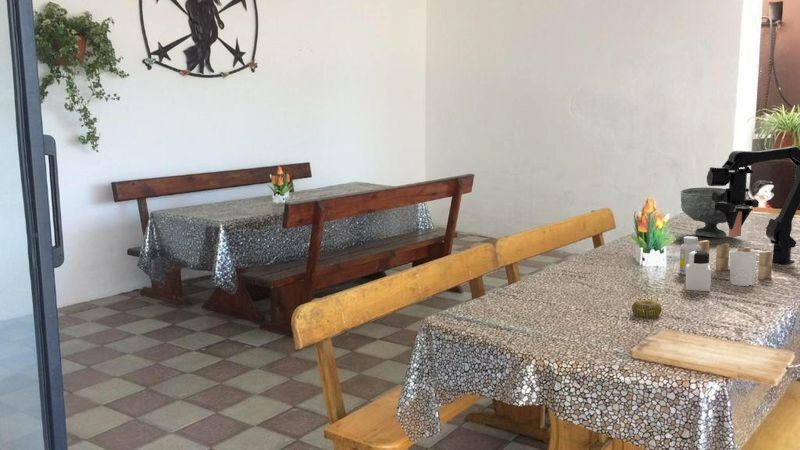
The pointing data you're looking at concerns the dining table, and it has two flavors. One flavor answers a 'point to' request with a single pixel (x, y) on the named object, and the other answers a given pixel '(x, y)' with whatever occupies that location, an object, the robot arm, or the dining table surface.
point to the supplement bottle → (687, 251)
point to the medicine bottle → (698, 271)
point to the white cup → (742, 268)
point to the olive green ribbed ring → (646, 308)
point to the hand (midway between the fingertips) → (735, 228)
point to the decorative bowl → (703, 210)
